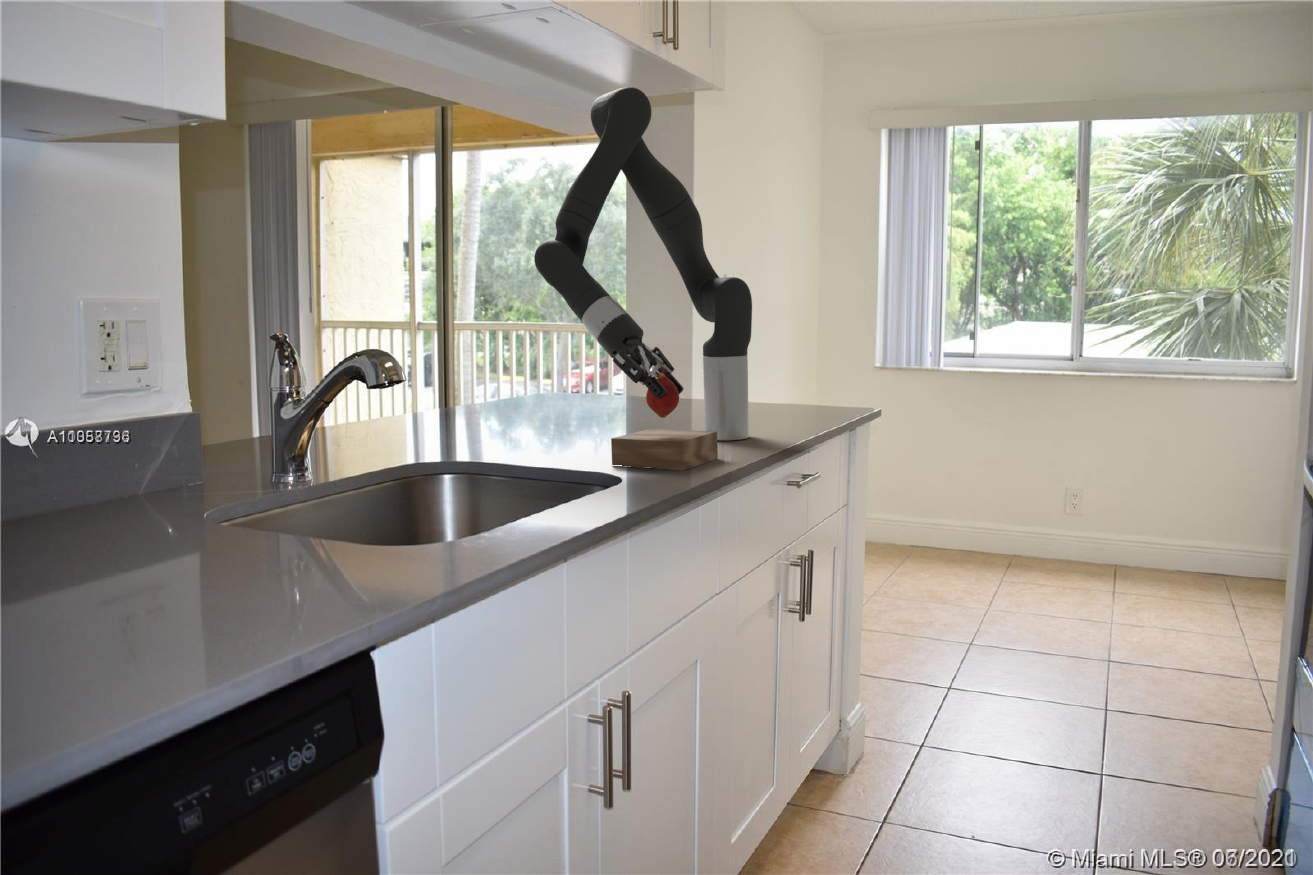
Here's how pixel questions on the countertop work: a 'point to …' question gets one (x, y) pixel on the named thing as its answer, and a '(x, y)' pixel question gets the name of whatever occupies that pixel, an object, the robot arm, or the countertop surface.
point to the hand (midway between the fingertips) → (671, 394)
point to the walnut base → (665, 449)
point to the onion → (664, 398)
